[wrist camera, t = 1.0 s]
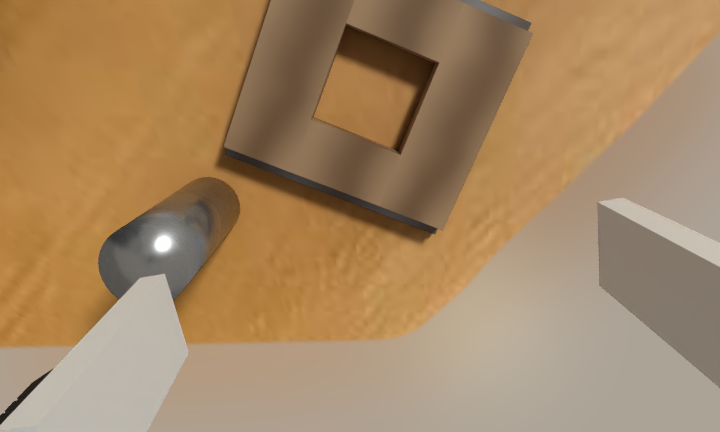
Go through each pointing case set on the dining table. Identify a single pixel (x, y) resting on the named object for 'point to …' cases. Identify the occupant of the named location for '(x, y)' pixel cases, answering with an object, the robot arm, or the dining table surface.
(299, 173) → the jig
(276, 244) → the dining table surface
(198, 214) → the steel cylinder rod
